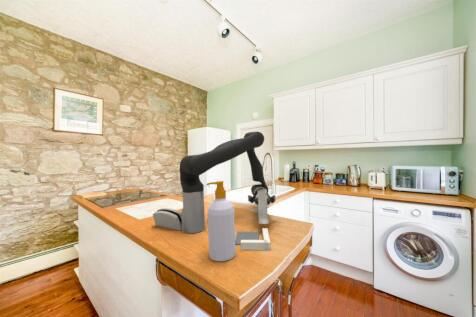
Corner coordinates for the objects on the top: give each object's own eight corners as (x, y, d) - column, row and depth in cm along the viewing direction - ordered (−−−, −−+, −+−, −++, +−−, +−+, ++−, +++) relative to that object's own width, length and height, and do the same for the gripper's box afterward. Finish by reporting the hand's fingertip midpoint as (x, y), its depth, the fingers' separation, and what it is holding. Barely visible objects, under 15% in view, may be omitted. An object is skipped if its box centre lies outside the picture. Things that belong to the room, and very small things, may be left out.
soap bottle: (201, 256, 57) (199, 182, 57) (224, 245, 64) (221, 179, 64) (218, 266, 51) (215, 184, 51) (241, 253, 57) (238, 180, 58)
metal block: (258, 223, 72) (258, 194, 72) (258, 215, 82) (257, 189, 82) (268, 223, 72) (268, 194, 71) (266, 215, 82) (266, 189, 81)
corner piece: (240, 249, 60) (240, 242, 60) (242, 234, 72) (242, 228, 72) (270, 250, 59) (270, 242, 59) (267, 234, 72) (267, 228, 72)
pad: (234, 244, 64) (234, 244, 64) (237, 232, 75) (237, 231, 75) (259, 245, 63) (259, 244, 63) (258, 232, 74) (258, 231, 74)
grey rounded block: (189, 226, 83) (183, 208, 80) (182, 233, 79) (175, 214, 76) (163, 221, 90) (157, 205, 87) (156, 228, 86) (149, 210, 83)
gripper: (247, 188, 94) (246, 194, 77) (274, 187, 93) (279, 194, 76) (247, 202, 94) (246, 211, 77) (274, 202, 93) (279, 211, 76)
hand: (262, 202), depth 77 cm, fingers closed on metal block, 4 cm apart
